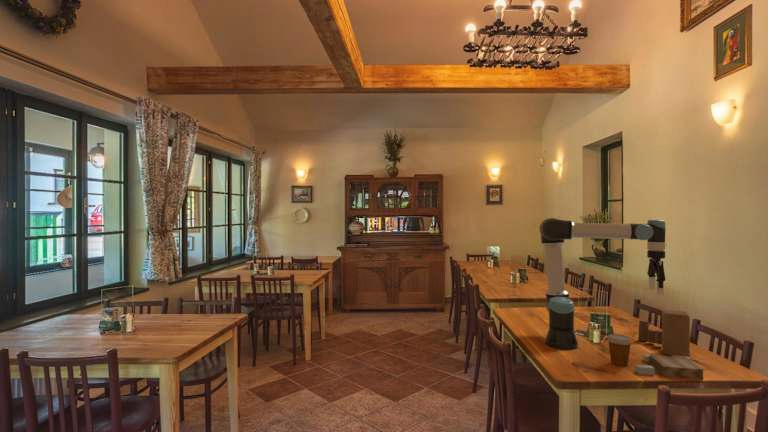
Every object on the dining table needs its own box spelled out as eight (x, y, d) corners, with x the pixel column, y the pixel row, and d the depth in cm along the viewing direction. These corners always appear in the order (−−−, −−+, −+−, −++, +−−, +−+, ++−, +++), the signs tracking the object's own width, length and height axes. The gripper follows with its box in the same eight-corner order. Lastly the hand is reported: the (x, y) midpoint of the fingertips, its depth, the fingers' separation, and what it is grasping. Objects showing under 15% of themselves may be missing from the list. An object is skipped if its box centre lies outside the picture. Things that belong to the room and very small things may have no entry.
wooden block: (690, 359, 182) (689, 315, 182) (663, 355, 187) (663, 312, 187) (687, 352, 191) (687, 311, 191) (662, 349, 196) (661, 308, 196)
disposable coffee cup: (634, 369, 171) (634, 341, 171) (609, 366, 174) (609, 338, 174) (629, 361, 180) (629, 334, 180) (605, 358, 183) (605, 332, 183)
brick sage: (645, 362, 179) (645, 356, 178) (643, 360, 181) (643, 353, 181) (660, 364, 177) (660, 357, 177) (658, 361, 180) (658, 355, 180)
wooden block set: (667, 348, 197) (669, 327, 197) (648, 346, 198) (650, 325, 199) (649, 338, 215) (651, 319, 215) (632, 336, 216) (633, 317, 216)
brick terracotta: (674, 364, 177) (674, 357, 177) (672, 361, 180) (671, 355, 180) (690, 365, 175) (690, 358, 175) (687, 363, 178) (687, 356, 178)
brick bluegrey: (638, 374, 166) (638, 367, 166) (635, 371, 169) (635, 364, 169) (654, 375, 164) (654, 368, 164) (651, 372, 167) (651, 365, 167)
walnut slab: (663, 376, 163) (663, 366, 163) (649, 363, 177) (649, 354, 177) (703, 379, 160) (703, 369, 160) (685, 366, 173) (685, 357, 173)
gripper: (673, 252, 189) (673, 297, 189) (657, 248, 212) (656, 288, 212) (655, 252, 191) (654, 296, 191) (640, 248, 215) (640, 287, 215)
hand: (655, 292), depth 202 cm, fingers open, 13 cm apart
